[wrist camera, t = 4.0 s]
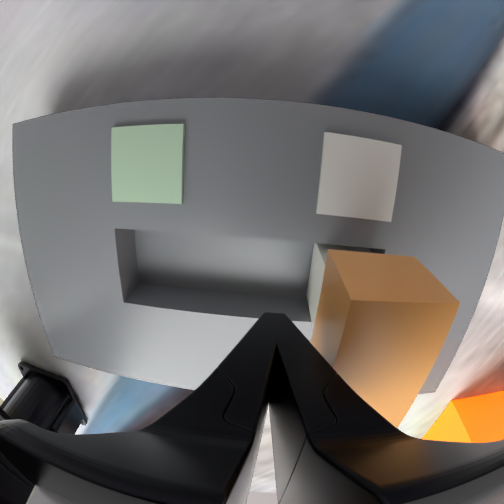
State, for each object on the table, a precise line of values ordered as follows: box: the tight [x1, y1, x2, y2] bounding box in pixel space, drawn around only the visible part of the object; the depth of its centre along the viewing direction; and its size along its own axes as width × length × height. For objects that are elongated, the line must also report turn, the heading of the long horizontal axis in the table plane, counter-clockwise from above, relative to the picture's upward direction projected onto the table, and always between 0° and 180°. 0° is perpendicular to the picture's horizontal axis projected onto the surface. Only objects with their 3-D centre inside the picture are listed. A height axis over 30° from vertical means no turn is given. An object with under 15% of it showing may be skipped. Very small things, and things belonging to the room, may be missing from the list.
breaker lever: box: [306, 243, 460, 428], centre depth 10 cm, size 3×5×7 cm, turn 177°
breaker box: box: [13, 98, 504, 394], centre depth 13 cm, size 24×14×3 cm, turn 87°
